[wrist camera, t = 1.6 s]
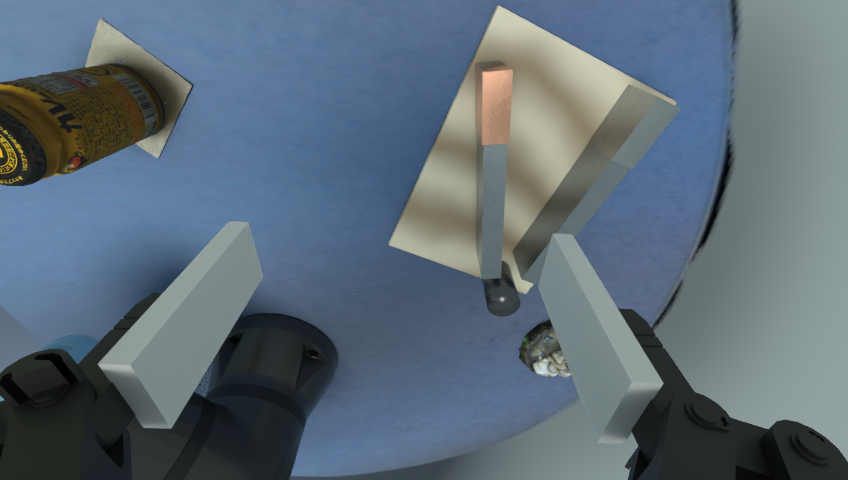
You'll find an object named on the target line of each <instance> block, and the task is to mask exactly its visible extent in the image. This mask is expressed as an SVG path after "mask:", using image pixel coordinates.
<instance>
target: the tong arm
mask: <svg viewBox="0 0 848 480" xmlns="http://www.w3.org/2000/svg"><path fill="white" fill-rule="evenodd" d="M512 79H513V69H511V68H510V67H509V66H508V65H506V64H505V63H504V62H503V61H491V62H479V63H476V130H477V256H478V261H479V267H480V272H481V277H482V279H492V278H501V267H502V247H503V227H504V206H505V186H506V165H507V145H508V143H509V137H510V118H511V99H512Z"/></svg>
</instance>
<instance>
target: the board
mask: <svg viewBox="0 0 848 480" xmlns="http://www.w3.org/2000/svg"><path fill="white" fill-rule="evenodd" d="M491 61H503V62H504V63H505V64H506V65H508V66H509V67H510V68H511V69H513V79H512V99H511V118H510V137H509V143H508V145H507V165H506V186H505V206H504V227H503V247H502V261H505V262H506V263H507V264H508V265H509V266H510V269H511V273H512V276H513V279H514V283H515V286H516V289H517V291H518V292H521V293H524V294H526V293H527V292H528V291H529V289H530V288H531V287H532V286H533V283H530V282H527V281H525V280H522V279H521V277H520V274H519V271H518V268H517V265H516V262H515V259H514V256H513V253H512V252H513V250H514V249H515V247H516V246H517V244H518V243H519V242H520V240H521V239H522V237H523V236H524V234H525V233H526V232H527V230H528V229H529V227H530V226H531V225H532V223H533V222H534V220H535V219H536V217H537V216H538V215H539V213H540V212H541V210H542V209H543V207H544V206H545V205H546V203H547V202H548V200H549V199H550V197H551V196H552V195H553V193H554V192H555V190H556V189H557V187H558V186H559V185H560V183H561V182H562V180H563V179H564V177H565V176H566V175H567V173H568V172H569V170H570V169H571V168H572V166H573V165H574V163H575V162H576V160H577V159H578V158H579V156H580V155H581V153H582V152H583V150H584V149H585V148H586V146H587V145H588V143H589V142H590V141H589V140H590V139H591V137H592V136H593V134H594V133H595V132H596V130H597V129H598V127H599V126H600V124H601V123H602V122H603V120H604V119H605V117H606V116H607V114H608V113H609V112H610V110H611V109H612V107H613V106H614V104H615V103H616V101H617V100H618V99H619V97H620V96H621V94H622V93H623V91H624V90H625V89H626V87H627V86H628V84H629V85H631V86H634V87H636V88H639V89H641V90H643V91H646V92H648V93H651V94H653V95H655V96H658V97H660V98H662V99H664V100H666V101H667V102H669V103H671V104H673V105H676V104H677V102H676V101H674V100H672V99H670V98H668V97H667V96H665V95H663V94H661V93H659V92H657V91H656V90H654V89H652V88H650V87H648V86H646V85H644V84H643V83H641V82H639V81H637V80H635V79H633V78H632V77H630V76H628V75H626V74H624V73H622V72H621V71H619V70H617V69H615V68H613V67H611V66H610V65H608V64H606V63H604V62H602V61H600V60H598V59H597V58H595V57H593V56H591V55H589V54H587V53H586V52H584V51H582V50H580V49H578V48H576V47H575V46H573V45H571V44H569V43H567V42H565V41H564V40H562V39H560V38H558V37H556V36H554V35H553V34H551V33H549V32H547V31H545V30H543V29H541V28H540V27H538V26H536V25H534V24H532V23H530V22H529V21H527V20H525V19H523V18H521V17H519V16H518V15H516V14H514V13H512V12H510V11H508V10H507V9H505V8H503V7H501V6H499V5H497V6H496V9H495V11H494V13H493V15H492V17H491V19H490V22H489V24H488V26H487V28H486V30H485V33H484V35H483V37H482V39H481V41H480V44H479V46H478V48H477V50H476V52H475V54H474V57H473V59H472V61H471V63H470V65H469V68H468V70H467V72H466V74H465V76H464V78H463V81H462V83H461V85H460V87H459V89H458V92H457V94H456V96H455V98H454V100H453V102H452V105H451V107H450V109H449V111H448V113H447V116H446V118H445V120H444V122H443V124H442V127H441V129H440V131H439V133H438V135H437V137H436V140H435V142H434V144H433V146H432V148H431V151H430V153H429V155H428V157H427V159H426V161H425V164H424V166H423V168H422V170H421V172H420V175H419V177H418V179H417V181H416V183H415V186H414V188H413V190H412V192H411V194H410V196H409V199H408V201H407V203H406V205H405V207H404V210H403V212H402V214H401V216H400V218H399V220H398V223H397V225H396V227H395V229H394V231H393V234H392V236H391V238H390V240H389V245H390V246H393V247H396V248H398V249H401V250H404V251H407V252H409V253H412V254H415V255H418V256H421V257H423V258H426V259H429V260H432V261H435V262H437V263H440V264H443V265H446V266H449V267H451V268H454V269H457V270H460V271H462V272H465V273H468V274H471V275H474V276H476V277H479V278H482V277H481V272H480V267H479V261H478V256H477V130H476V63H479V62H491Z"/></svg>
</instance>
